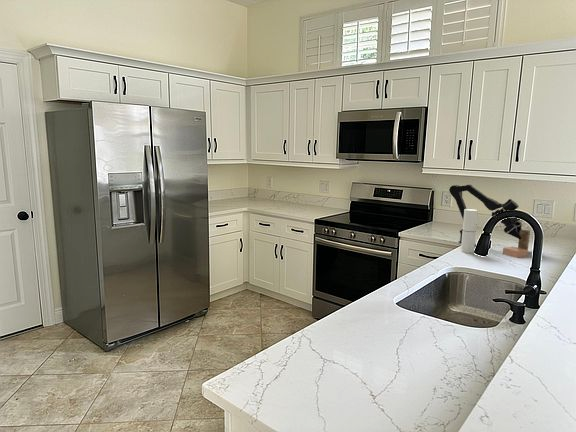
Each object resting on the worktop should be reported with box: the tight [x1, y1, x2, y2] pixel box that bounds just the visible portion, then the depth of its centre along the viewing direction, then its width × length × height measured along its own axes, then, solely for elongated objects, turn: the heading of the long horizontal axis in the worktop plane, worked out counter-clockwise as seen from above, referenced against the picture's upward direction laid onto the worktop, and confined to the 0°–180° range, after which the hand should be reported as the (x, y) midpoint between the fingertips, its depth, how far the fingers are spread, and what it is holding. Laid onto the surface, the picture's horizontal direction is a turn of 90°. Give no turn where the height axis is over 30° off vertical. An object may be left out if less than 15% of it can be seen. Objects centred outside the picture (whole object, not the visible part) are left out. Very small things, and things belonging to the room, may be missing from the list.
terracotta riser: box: [502, 246, 529, 259], centre depth 233 cm, size 9×9×4 cm
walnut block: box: [517, 229, 531, 251], centre depth 241 cm, size 4×4×13 cm
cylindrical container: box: [460, 208, 478, 254], centre depth 238 cm, size 7×7×25 cm
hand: (522, 237), depth 242 cm, fingers open, 9 cm apart
